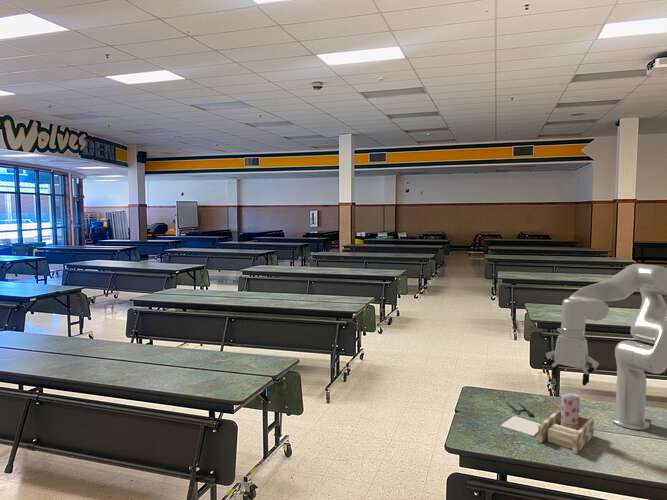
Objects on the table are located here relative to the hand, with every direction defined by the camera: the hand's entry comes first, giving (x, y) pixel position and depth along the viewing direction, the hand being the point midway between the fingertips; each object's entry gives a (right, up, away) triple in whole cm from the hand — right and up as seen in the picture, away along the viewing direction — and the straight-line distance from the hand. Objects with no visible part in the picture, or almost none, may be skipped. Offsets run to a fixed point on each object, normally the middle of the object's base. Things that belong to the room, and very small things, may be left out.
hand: (570, 381), depth 167 cm
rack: (-2, -20, -1) cm, 20 cm away
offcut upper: (-5, -18, -4) cm, 19 cm away
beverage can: (0, -20, +1) cm, 20 cm away
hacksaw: (-10, -19, +29) cm, 36 cm away
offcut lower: (-4, -21, -3) cm, 22 cm away
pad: (-13, -20, +9) cm, 25 cm away
